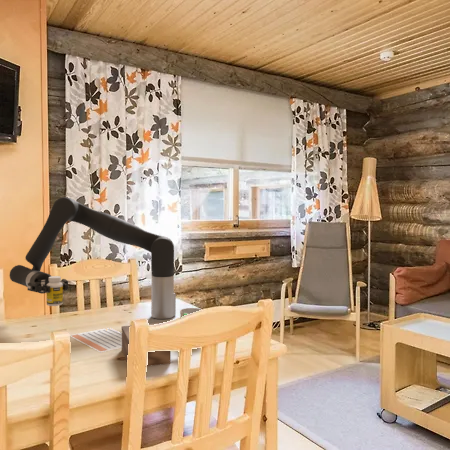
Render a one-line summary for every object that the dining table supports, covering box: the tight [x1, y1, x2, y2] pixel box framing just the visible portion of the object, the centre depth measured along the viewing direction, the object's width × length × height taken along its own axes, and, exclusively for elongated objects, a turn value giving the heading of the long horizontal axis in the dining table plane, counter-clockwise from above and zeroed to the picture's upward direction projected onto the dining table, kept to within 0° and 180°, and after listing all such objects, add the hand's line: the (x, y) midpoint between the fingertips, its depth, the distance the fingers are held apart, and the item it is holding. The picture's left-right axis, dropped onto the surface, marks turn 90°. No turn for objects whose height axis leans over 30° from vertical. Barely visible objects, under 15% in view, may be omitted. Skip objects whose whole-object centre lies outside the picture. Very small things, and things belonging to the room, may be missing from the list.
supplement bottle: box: [45, 275, 64, 307], centre depth 156 cm, size 5×5×10 cm
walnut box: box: [121, 322, 172, 367], centre depth 138 cm, size 12×16×8 cm
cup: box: [179, 307, 202, 318], centre depth 156 cm, size 8×8×10 cm
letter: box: [70, 327, 122, 353], centre depth 155 cm, size 16×24×1 cm, turn 43°
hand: (57, 288), depth 154 cm, fingers closed on supplement bottle, 5 cm apart
